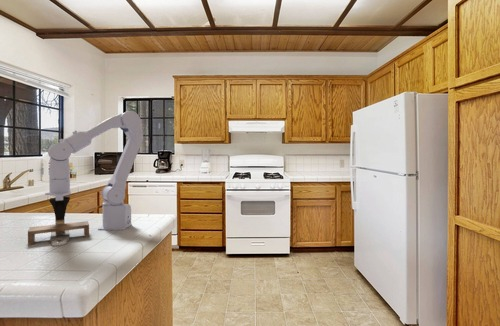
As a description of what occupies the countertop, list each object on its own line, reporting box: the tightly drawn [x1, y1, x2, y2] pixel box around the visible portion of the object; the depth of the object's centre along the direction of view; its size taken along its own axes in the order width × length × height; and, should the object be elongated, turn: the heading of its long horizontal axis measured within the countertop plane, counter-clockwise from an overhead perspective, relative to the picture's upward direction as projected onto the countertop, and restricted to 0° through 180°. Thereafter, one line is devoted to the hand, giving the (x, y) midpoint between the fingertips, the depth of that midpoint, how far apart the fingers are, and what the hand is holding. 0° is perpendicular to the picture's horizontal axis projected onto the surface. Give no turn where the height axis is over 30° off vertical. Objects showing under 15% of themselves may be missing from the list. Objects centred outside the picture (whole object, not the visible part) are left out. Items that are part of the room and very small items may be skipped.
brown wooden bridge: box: [27, 220, 90, 246], centre depth 92 cm, size 16×6×4 cm, turn 123°
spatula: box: [49, 217, 70, 245], centre depth 93 cm, size 12×5×9 cm, turn 33°
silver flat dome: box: [50, 240, 68, 247], centre depth 86 cm, size 4×4×1 cm
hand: (60, 219), depth 96 cm, fingers closed on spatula
